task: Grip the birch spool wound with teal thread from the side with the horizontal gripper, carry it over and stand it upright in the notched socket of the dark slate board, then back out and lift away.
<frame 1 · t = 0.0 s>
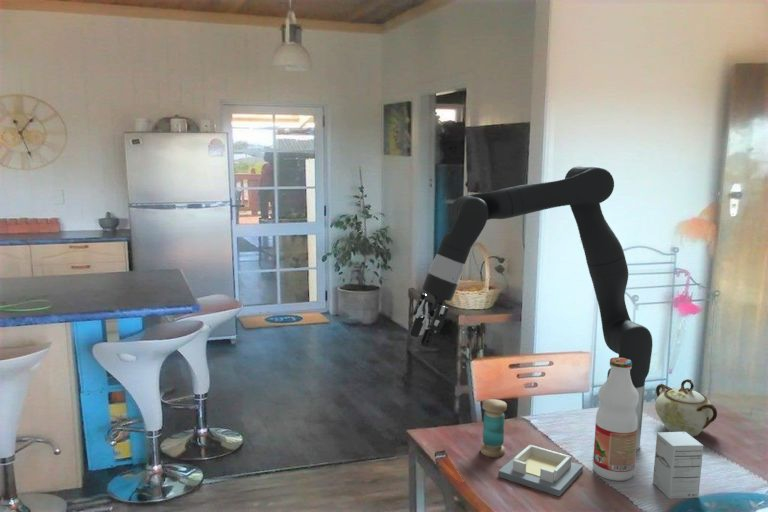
hand: (418, 340, 153), 31 cm above the table, tool tilted 20°, fingers open, 8 cm apart
fruit juice: (612, 473, 156), on the table
sugar bowl: (682, 431, 181), on the table
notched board: (540, 473, 154), on the table
supplement box: (675, 491, 148), on the table
spool: (492, 452, 166), on the table
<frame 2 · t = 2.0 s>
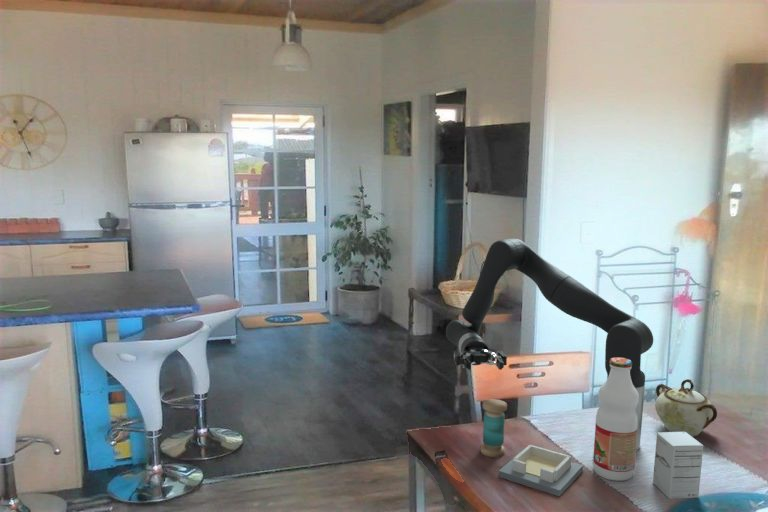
hand: (485, 366, 174), 19 cm above the table, tool horizontal, fingers open, 8 cm apart
nothing on the table moved.
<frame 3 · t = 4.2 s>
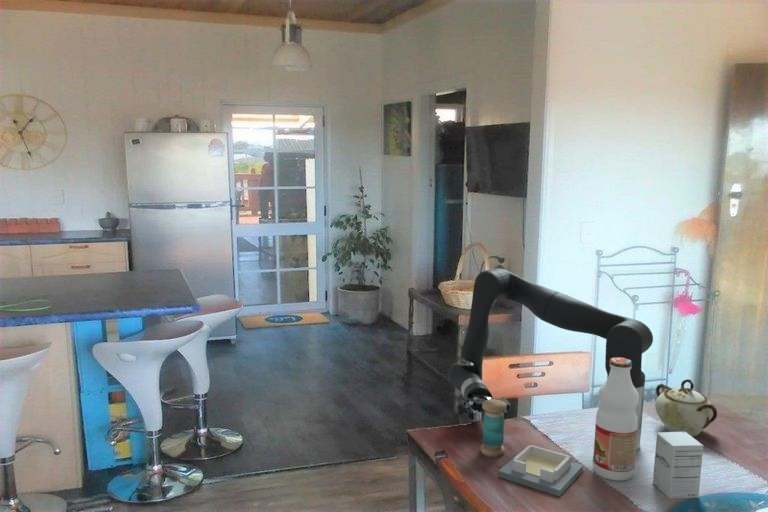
hand: (488, 416, 171), 7 cm above the table, tool horizontal, fingers open, 8 cm apart
nothing on the table moved.
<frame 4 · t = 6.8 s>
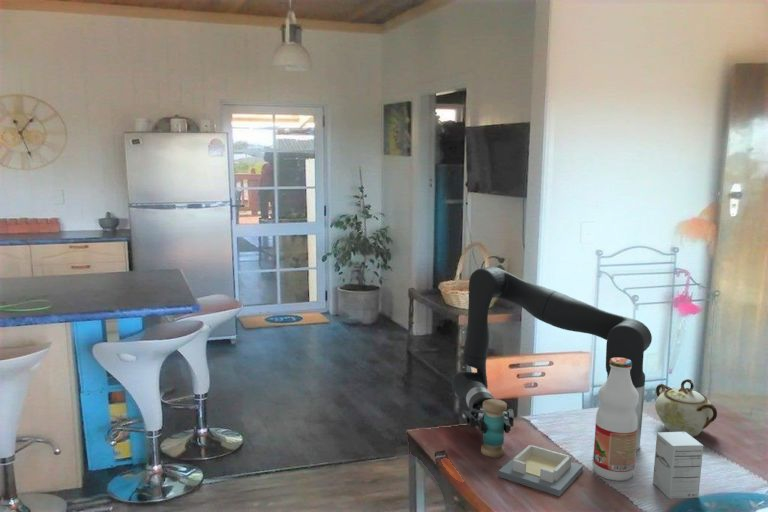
hand: (496, 429, 162), 7 cm above the table, tool horizontal, fingers closed on spool, 5 cm apart
spool: (492, 452, 166), on the table, touching gripper
everything else where it was.
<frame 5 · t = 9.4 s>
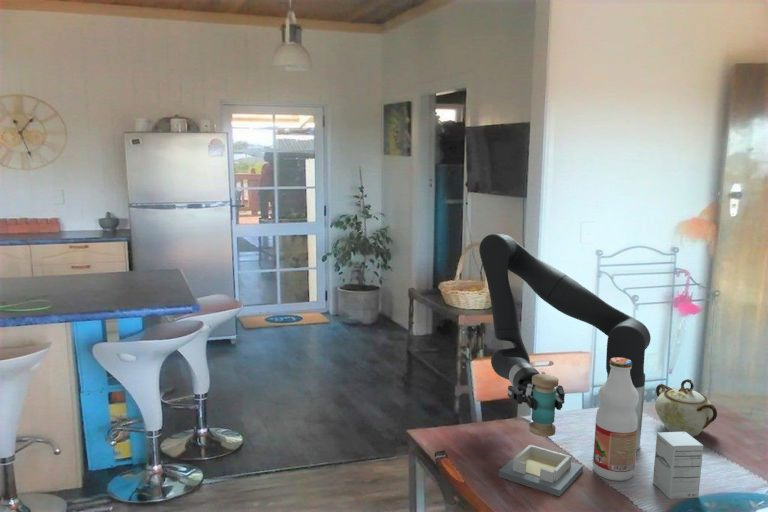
hand: (547, 406, 149), 18 cm above the table, tool horizontal, fingers closed on spool, 5 cm apart
spool: (542, 431, 153), point 11 cm above the table, touching gripper
everything else where it was.
when the fingers open (10 cm above the table, at t = 12.1 s): spool drops 1 cm, resting on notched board.
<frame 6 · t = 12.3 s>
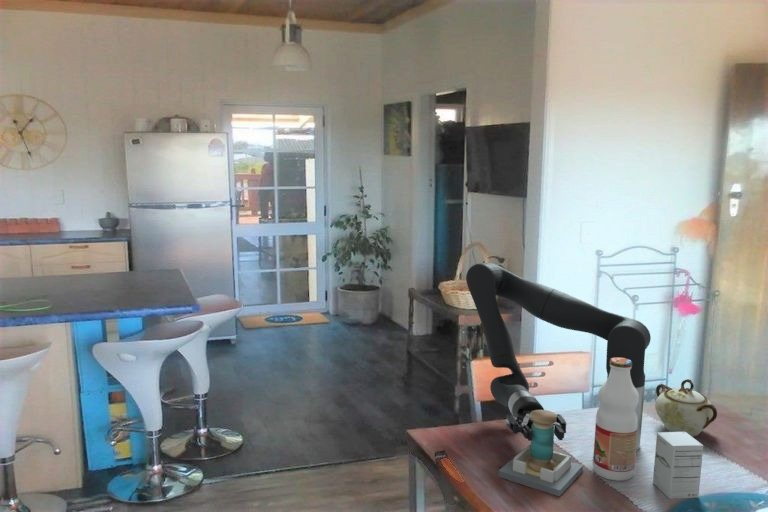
hand: (546, 436, 151), 10 cm above the table, tool horizontal, fingers open, 6 cm apart
spool: (541, 466, 154), point 2 cm above the table, touching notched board
everything else where it was.
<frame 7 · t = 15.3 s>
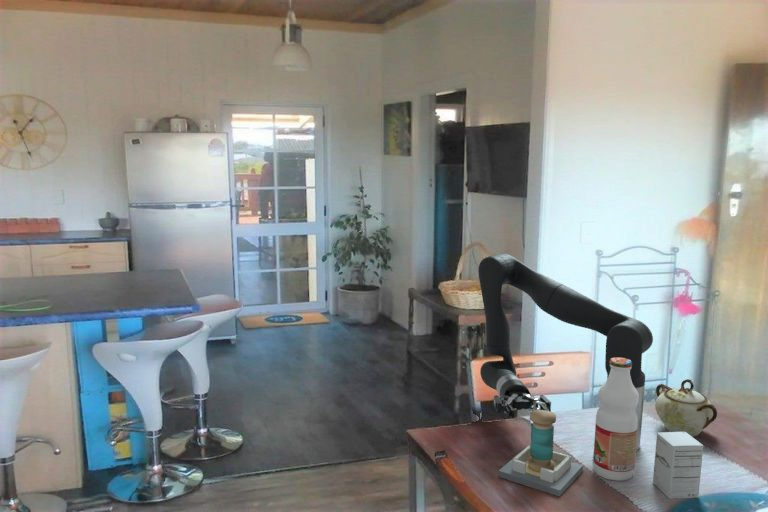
hand: (529, 414, 164), 10 cm above the table, tool horizontal, fingers open, 8 cm apart
nothing on the table moved.
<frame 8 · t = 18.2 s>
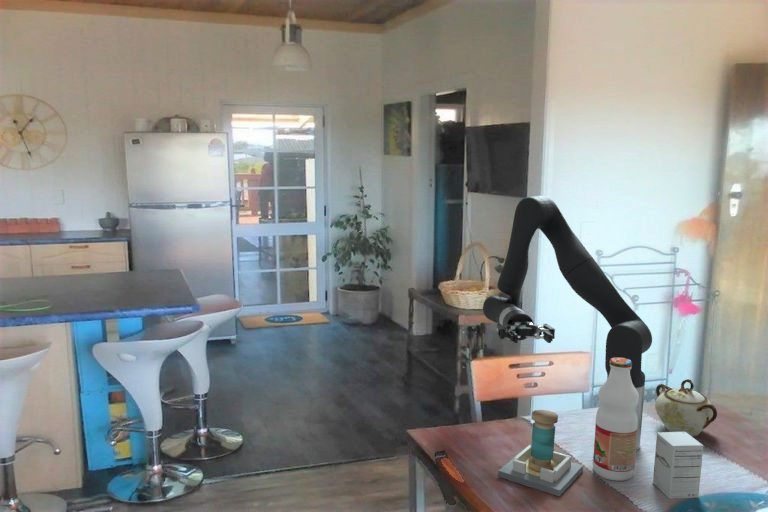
hand: (533, 339, 161), 30 cm above the table, tool horizontal, fingers open, 8 cm apart
nothing on the table moved.
at the end: spool 0.1 cm off-centre on the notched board, point 1.8 cm above the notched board's base; spool tilted 2°; the gripper is holding nothing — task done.
